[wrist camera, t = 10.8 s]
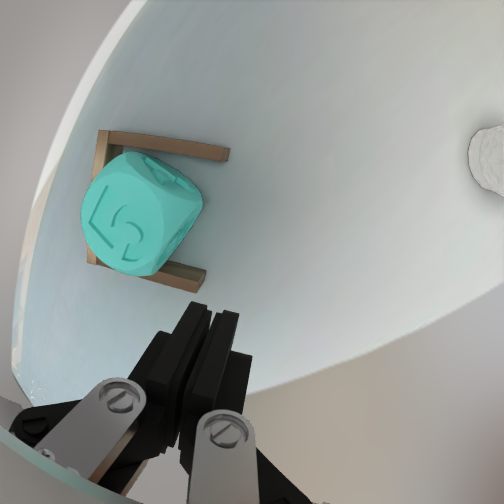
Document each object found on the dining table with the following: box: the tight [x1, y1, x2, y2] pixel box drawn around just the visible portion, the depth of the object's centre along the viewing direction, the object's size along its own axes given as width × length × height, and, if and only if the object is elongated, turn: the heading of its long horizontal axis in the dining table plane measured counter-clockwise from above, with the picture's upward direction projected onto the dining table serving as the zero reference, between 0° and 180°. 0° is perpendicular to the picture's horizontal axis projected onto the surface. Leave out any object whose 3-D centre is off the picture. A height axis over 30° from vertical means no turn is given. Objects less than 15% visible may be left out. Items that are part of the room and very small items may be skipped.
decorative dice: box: [81, 151, 203, 276], centre depth 25 cm, size 8×8×8 cm
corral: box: [87, 130, 230, 293], centre depth 27 cm, size 13×12×3 cm
